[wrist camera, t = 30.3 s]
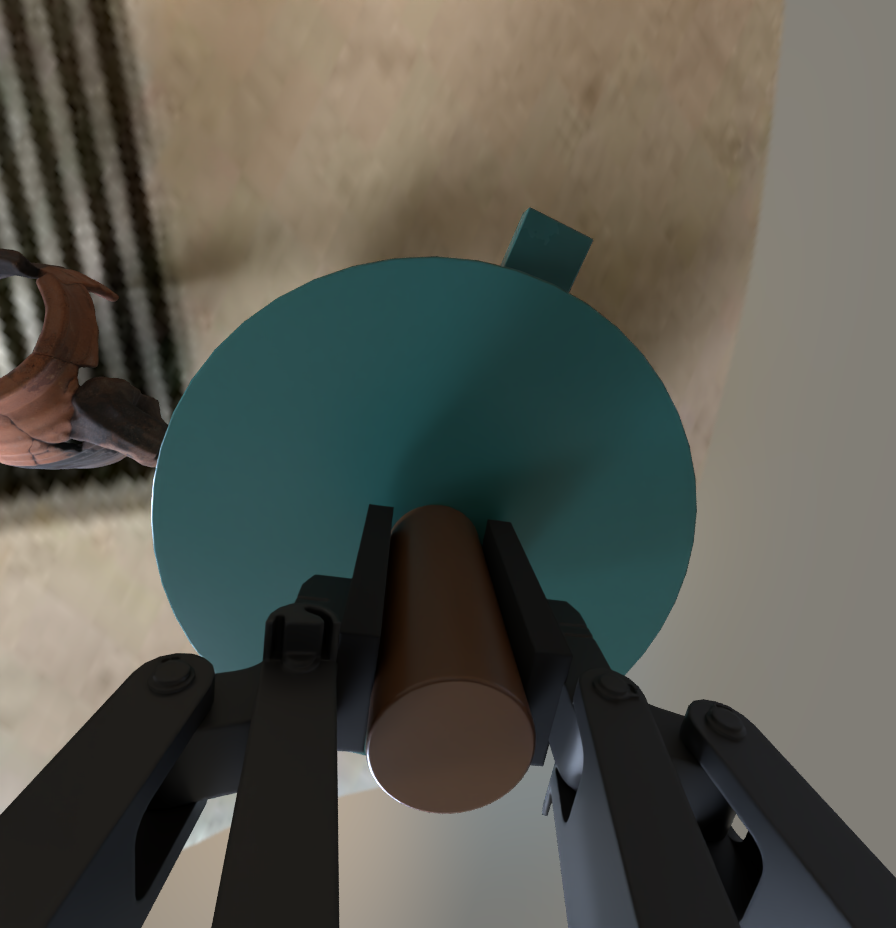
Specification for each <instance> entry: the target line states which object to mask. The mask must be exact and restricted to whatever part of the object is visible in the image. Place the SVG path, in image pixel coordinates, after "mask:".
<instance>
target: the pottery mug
mask: <svg viewBox="0 0 896 928" xmlns="http://www.w3.org/2000/svg"><path fill="white" fill-rule="evenodd" d="M13 275H17V276H23V277H27V278H34V279H37V281H36V284H37V286H38V288H39V290H40V293H41V295H42V298H43V301H44V304H45V309H46V310H45V319H44V325H43V329H42V331H41V334H40V336H39V338H38V341H37V343H36V346H35V348H34V350H33V353H32V354H31V355H29V356H28V357H27V358H26V359H25V360H24V361H23V362H22V363H21V364H20V365H19V366H18V367H16V368H15V369H13V370H12V371H11V372H10V373H8V374H7V375H5V376H3V377H2V378H0V463H3V464H8V465H11V466H17V467H22V468H28V469H32V468H37V469H52V470H53V469H71V468H96V467H101V466H106V465H110V464H113V463H115V462H118V461H120V460H122V459H123V458H125V457H126V456H128V457H130V458H132V459H134V460H136V461H137V462H139V463H140V464H142V465H145V466H149V467H156V466H157V461H158V456H159V451H160V447H161V444H162V441H163V439H164V436H165V433H166V431H167V428H168V425H167V424H166V423H165V422H164V420H163V419H162V418H161V414H160V406H159V402H158V400H155V398H152V397H149V396H146V395H143V394H141V391H140V390H139V389H137V388H136V387H133V386H132V385H131V384H130V383H129V382H127V381H126V380H123V379H119V378H108V377H94V378H92V379H90V380H87V381H86V382H85V383H84V384H83V385H82V386H80V385H79V382H78V378H77V377H78V370H79V368H80V367H84V368H85V367H89V368H95V367H97V366H98V361H99V357H98V334H99V330H98V326H97V322H96V317H95V309H94V304H93V301H92V298H91V296H90V294H89V292H92V293H94V294H96V295H98V296H100V297H103V298H105V299H107V300H109V301H114V302H115V301H117V300H118V298H119V296H118V295H117V294H116V293H114V292H113V291H111V290H110V289H109V288H107V287H105V286H104V285H102V284H101V283H99V282H97V281H95V280H93V279H91V278H89V277H88V276H86V275H84V274H81V273H79V272H76V271H74V270H70V269H65V268H64V267H61V266H54V265H47V264H40V263H31V262H29V260H28V259H26V258H25V257H24V256H23V255H22V254H21V253H20V252H18V251H14V250H7V249H0V279H2V278H5V277H9V276H13ZM69 439H75V440H77V441H83V442H82V444H79V445H77V444H73V443H66V441H68V440H69Z"/></svg>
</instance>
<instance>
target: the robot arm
mask: <svg viewBox="0 0 896 928" xmlns="http://www.w3.org/2000/svg"><path fill="white" fill-rule="evenodd" d="M393 509H394V507H389V506H382V505H374V504H369V507H368V512H367V516H366V520H365V525H364V529H363V533H362V538H361V542H360V546H359V551H358V555H357V559H356V564H355V568H354V572H353V577H352V578H343V577H334V576H325V575H316V574H315V575H314V576H312V577H311V578H310V579H308V580H307V581H306V582H304V583H303V584H302V586H301V589H300V591H299V593H298V596H297V599H296V601H295V603H292V604H289V605H286V606H282V607H279V608H278V609H276V610H275V611H274V612H272V613H271V614H270V615H269V617H268V619H267V620H266V622H265V636H264V649H263V661H262V662H260V663H259V664H257V665H254V666H252V667H249V668H246V669H241V670H237V671H230V672H223V673H215V671H214V668H213V664H211V663H210V662H209V661H208V660H207V659H206V658H204V657H201V656H198V655H195V654H185V653H175V654H170V655H165V656H160V657H158V658H156V659H153V660H151V661H149V662H146V663H144V664H143V665H142V666H141V667H139V668H138V669H137V670H135V671H134V672H133V673H132V674H131V675H130V676H129V677H128V678H127V679H126V680H125V681H124V683H123V684H122V685H121V686H120V687H119V688H118V689H117V690H116V691H115V692H114V693H113V694H112V695H111V697H110V698H109V699H108V700H107V701H106V702H105V703H104V704H103V705H102V706H101V707H100V708H99V709H98V711H97V712H96V713H95V714H94V715H93V716H92V717H91V718H90V719H89V720H88V721H87V722H86V723H85V724H84V726H83V727H82V728H81V729H80V730H79V731H78V732H77V733H76V734H75V735H74V736H73V737H72V738H71V740H70V741H69V742H68V743H67V744H66V745H65V746H64V747H63V748H62V749H61V750H60V751H59V752H58V753H57V755H56V756H55V757H54V758H53V759H52V760H51V761H50V762H49V763H48V764H47V765H46V766H45V767H44V769H43V770H42V771H41V772H40V773H39V774H38V775H37V776H36V777H35V778H34V779H33V780H32V781H31V783H30V784H29V785H28V786H27V787H26V788H25V789H24V790H23V791H22V792H21V793H20V794H19V795H18V796H17V798H16V799H15V800H14V801H13V802H12V803H11V804H10V805H9V806H8V807H7V808H6V809H5V810H4V812H3V813H2V814H1V815H0V928H141V927H142V925H143V923H144V921H145V920H146V918H147V916H148V914H149V912H150V910H151V908H152V906H153V904H154V902H155V900H156V899H157V897H158V895H159V893H160V891H161V889H162V887H163V885H164V883H165V881H166V880H167V877H168V876H169V873H170V872H171V870H172V868H173V866H174V864H175V862H176V860H177V859H178V857H179V855H180V853H181V851H182V849H183V847H184V845H185V843H186V841H187V840H188V838H189V836H190V834H191V832H192V830H193V828H194V826H195V824H196V822H197V820H198V819H199V817H200V815H201V813H202V811H203V809H204V807H205V805H206V803H207V799H211V798H215V797H220V796H224V795H229V794H233V793H237V797H236V802H235V807H234V813H233V818H232V823H231V828H230V833H229V839H228V844H227V849H226V854H225V859H224V865H223V870H222V875H221V881H220V886H219V891H218V896H217V902H216V907H215V912H214V917H213V923H212V927H211V928H339V864H338V779H337V751H348V752H361V753H364V746H365V739H366V733H367V726H368V717H369V708H370V698H371V693H372V689H373V685H374V678H375V672H376V665H377V658H378V651H379V645H380V638H381V628H382V619H383V609H384V599H385V589H386V579H387V569H388V559H389V549H390V539H391V529H392V519H393ZM482 549H483V553H484V556H485V559H486V563H487V566H488V570H489V573H490V576H491V580H492V583H493V586H494V590H495V593H496V597H497V600H498V603H499V607H500V610H501V613H502V617H503V620H504V624H505V627H506V630H507V634H508V637H509V640H510V644H511V647H512V651H513V654H514V657H515V661H516V664H517V667H518V671H519V674H520V678H521V681H522V684H523V688H524V691H525V694H526V698H527V701H528V705H529V708H530V711H531V715H532V718H533V721H534V725H535V730H536V746H535V752H534V756H533V759H532V762H531V764H530V765H535V766H543V765H544V761H545V758H546V754H547V750H548V746H549V744H550V747H551V750H552V754H553V757H554V760H555V764H554V768H553V771H552V775H551V778H550V782H549V786H548V789H547V793H546V796H545V800H544V803H543V810H542V815H545V816H547V815H548V812H549V809H550V805H551V803H552V804H553V811H554V819H555V827H556V834H557V843H558V851H559V858H560V866H561V874H562V882H563V890H564V898H565V906H566V913H567V921H568V928H896V878H895V877H894V876H893V874H892V873H891V872H890V871H889V870H888V869H887V868H886V867H885V866H884V865H883V864H882V862H881V861H880V860H879V859H878V858H877V857H876V856H875V855H874V854H873V853H872V852H871V851H870V850H869V848H868V847H867V846H866V845H865V844H864V843H863V842H862V841H861V840H860V839H859V838H858V837H857V835H856V834H855V833H854V832H853V831H852V830H851V829H850V828H849V827H848V826H847V825H846V824H845V822H844V821H843V820H842V819H841V818H840V817H839V816H838V815H837V814H836V813H835V812H834V811H833V809H832V808H831V807H830V806H829V805H828V804H827V803H826V802H825V801H824V800H823V799H822V798H821V797H820V795H819V794H818V793H817V792H816V791H815V790H814V789H813V788H812V787H811V786H810V785H809V784H808V783H807V781H806V780H805V779H804V778H803V777H802V776H801V775H800V774H799V773H798V772H797V771H796V769H795V768H794V767H793V766H792V765H791V764H790V763H789V762H788V761H787V760H786V759H785V758H784V757H783V756H782V754H781V753H780V752H779V751H778V750H777V749H776V748H775V747H774V746H773V745H772V744H771V742H770V741H769V740H768V739H767V738H766V737H765V736H764V735H763V734H762V733H761V732H760V731H759V729H758V728H757V727H756V726H755V725H754V724H753V723H751V722H750V721H749V720H748V719H747V718H746V717H744V716H743V715H742V714H740V713H739V712H737V711H735V710H734V709H732V708H731V707H729V706H727V705H723V704H722V703H718V702H716V701H709V700H704V699H703V700H696V701H693V702H692V703H691V704H690V705H689V706H688V709H687V711H686V714H685V716H683V715H680V714H676V713H673V712H670V711H667V710H664V709H661V708H658V707H655V706H653V705H650V704H648V703H647V700H646V698H645V696H644V694H643V693H642V691H641V690H640V688H639V687H638V686H637V685H636V684H635V683H634V682H633V681H631V680H630V679H629V678H627V677H626V676H624V675H622V674H620V673H618V672H616V671H613V670H611V668H610V666H609V664H608V662H607V661H606V659H605V657H604V655H603V653H602V652H601V650H600V648H599V646H598V644H597V643H596V641H595V639H593V635H592V634H591V632H590V630H589V628H587V625H586V623H585V621H584V619H583V617H582V616H581V614H580V613H579V612H578V611H577V610H576V609H575V608H574V607H573V606H571V605H570V604H569V603H568V602H567V601H560V600H552V599H547V598H546V596H545V594H544V592H543V590H542V588H541V586H540V583H539V581H538V579H537V577H536V575H535V573H534V571H533V568H532V566H531V564H530V562H529V560H528V558H527V556H526V553H525V551H524V549H523V547H522V545H521V543H520V541H519V538H518V536H517V534H516V532H515V530H514V528H513V526H512V523H511V522H506V521H498V520H490V519H488V520H487V525H486V530H485V535H484V540H483V545H482ZM736 814H737V815H738V817H739V818H740V820H741V821H742V822H743V824H744V825H745V826H746V828H747V829H748V833H747V835H746V837H745V839H744V840H742V839H741V838H740V837H739V836H738V835H737V833H736V832H735V831H734V829H733V828H732V826H731V824H732V822H733V819H734V817H735V815H736Z"/></svg>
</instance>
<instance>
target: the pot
mask: <svg viewBox="0 0 896 928" xmlns="http://www.w3.org/2000/svg"><path fill="white" fill-rule="evenodd" d="M592 242H593V239H592V238H590V237H588V236H586V235H584V234H582V233H580V232H578V231H576V230H574V229H572V228H570V227H568V226H566V225H564V224H562V223H560V222H559V221H557V220H555V219H553V218H551V217H549V216H547V215H545V214H543V213H541V212H539V211H537V210H535V209H533V208H531V207H529V208H528V209H527V210H526V211H525V212H524V213H523V214H522V217H521V219H520V221H519V224H518V226H517V228H516V230H515V233H514V235H513V237H512V240H511V242H510V244H509V247H508V249H507V251H506V254H505V256H504V258H503V261H502V263H501V265H500V266H504V267H508V268H512V269H516V270H519V271H521V272H524V273H526V274H529V275H531V276H534V277H536V278H539V279H542V280H544V281H547V282H549V283H552V284H554V285H556V286H557V287H559V288H561V289H563V290H564V291H566V292H568V293H569V291H570V289H571V287H572V285H573V283H574V281H575V278H576V276H577V274H578V272H579V270H580V268H581V266H582V263H583V261H584V259H585V257H586V255H587V253H588V251H589V248H590V246H591V244H592Z"/></svg>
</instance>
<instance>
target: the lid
mask: <svg viewBox="0 0 896 928" xmlns="http://www.w3.org/2000/svg"><path fill="white" fill-rule="evenodd" d="M369 504H374V505H382V506H389V507H394V509H393V519H392V529H391V539H390V549H389V559H388V569H387V579H386V589H385V599H384V609H383V619H382V628H381V638H380V645H379V651H378V658H377V665H376V672H375V678H374V685H373V689H372V693H371V698H370V708H369V717H368V726H367V733H366V739H365V746H364V753H361V752H353V753H358V754H362V755H366V759H367V762H368V766H369V769H370V771H371V773H372V775H373V777H374V779H375V780H376V782H377V783H378V785H379V786H380V787H381V788H382V789H383V790H384V791H385V792H386V793H387V794H388V795H389V796H391V797H392V798H393V799H395V800H396V801H398V802H400V803H401V804H404V805H406V806H408V807H410V808H413V809H416V810H419V811H424V812H429V813H439V814H451V813H461V812H466V811H471V810H474V809H477V808H481V807H483V806H485V805H488V804H491V803H492V802H494V801H496V800H498V799H500V798H501V797H503V796H504V795H505V794H507V793H508V792H509V791H511V790H512V789H513V788H514V787H515V786H516V785H517V784H518V783H519V781H520V780H521V779H522V778H523V776H524V775H525V773H526V772H527V770H528V768H529V766H530V764H531V762H532V759H533V756H534V752H535V746H536V730H535V725H534V721H533V718H532V715H531V711H530V708H529V705H528V701H527V698H526V694H525V691H524V688H523V684H522V681H521V678H520V674H519V671H518V667H517V664H516V661H515V657H514V654H513V651H512V647H511V644H510V640H509V637H508V634H507V630H506V627H505V624H504V620H503V617H502V613H501V610H500V607H499V603H498V600H497V597H496V593H495V590H494V586H493V583H492V580H491V576H490V573H489V570H488V566H487V563H486V559H485V556H484V553H483V549H482V545H483V540H484V535H485V530H486V525H487V520H488V519H490V520H498V521H506V522H511V523H512V526H513V528H514V530H515V532H516V534H517V536H518V538H519V541H520V543H521V545H522V547H523V549H524V551H525V553H526V556H527V558H528V560H529V562H530V564H531V566H532V568H533V571H534V573H535V575H536V577H537V579H538V581H539V583H540V586H541V588H542V590H543V592H544V594H545V596H546V598H547V599H552V600H560V601H567V602H568V603H569V604H570V605H571V606H573V607H574V608H575V609H576V610H577V611H578V612H579V613H580V614H581V616H582V617H583V619H584V621H585V623H586V625H587V628H589V630H590V632H591V634H592V635H593V639H595V641H596V643H597V644H598V646H599V648H600V650H601V652H602V653H603V655H604V657H605V659H606V661H607V662H608V664H609V666H610V668H611V670H613V671H616V672H618V673H620V674H622V675H624V676H625V674H626V673H627V672H628V671H629V670H630V669H631V668H632V667H633V665H634V664H635V663H636V662H637V661H638V660H639V658H641V656H642V655H643V654H644V653H645V651H646V650H647V648H648V647H649V646H650V644H651V643H652V641H653V640H654V638H655V637H656V636H657V634H658V633H659V631H660V630H661V628H662V626H663V624H664V622H665V621H666V619H667V617H668V615H669V613H670V611H671V609H672V607H673V605H674V604H675V601H676V599H677V596H678V593H679V591H680V588H681V586H682V583H683V580H684V578H685V575H686V572H687V568H688V564H689V559H690V556H691V551H692V547H693V542H694V533H695V523H696V513H697V506H696V480H695V473H694V468H693V462H692V457H691V451H690V446H689V443H688V440H687V437H686V434H685V431H684V428H683V425H682V422H681V419H680V416H679V413H678V411H677V409H676V407H675V405H674V403H673V402H672V400H671V398H670V396H669V394H668V392H667V390H666V388H665V386H664V384H663V382H662V381H661V379H660V378H659V376H658V375H657V374H656V372H655V371H654V369H653V368H652V366H651V365H650V364H649V362H648V361H647V359H646V358H645V357H644V355H643V354H642V353H641V352H640V351H639V349H638V348H637V347H636V346H635V345H634V344H633V343H632V342H631V341H630V340H629V339H628V338H627V337H626V336H625V335H624V334H623V333H622V332H621V331H620V329H619V328H618V327H617V326H615V325H614V324H613V323H611V322H610V321H609V320H608V319H606V318H605V317H604V316H602V315H601V314H600V313H599V312H597V311H596V310H595V309H594V308H592V307H591V306H590V305H588V304H587V303H585V302H584V301H582V300H580V299H578V298H577V297H575V296H573V295H571V294H570V293H568V292H566V291H564V290H563V289H561V288H559V287H557V286H556V285H554V284H552V283H549V282H547V281H544V280H542V279H539V278H536V277H534V276H531V275H529V274H526V273H524V272H521V271H519V270H516V269H512V268H508V267H504V266H499V265H495V264H491V263H487V262H483V261H479V260H470V259H460V258H449V257H439V256H430V257H409V258H393V259H387V260H382V261H377V262H372V263H366V264H361V265H356V266H352V267H349V268H346V269H343V270H340V271H337V272H334V273H331V274H328V275H325V276H322V277H320V278H317V279H314V280H312V281H310V282H308V283H306V284H304V285H302V286H300V287H298V288H296V289H294V290H292V291H290V292H288V293H286V294H284V295H282V296H280V297H279V298H277V299H275V300H274V301H272V302H271V303H270V304H268V305H267V306H265V307H264V308H263V309H261V310H260V311H258V312H257V313H256V314H254V315H253V316H251V317H250V318H249V319H247V320H246V321H244V322H243V323H242V324H241V325H240V326H239V327H238V328H237V329H236V330H235V331H234V332H233V333H232V334H231V335H230V336H229V337H228V338H226V339H225V340H224V341H223V342H222V343H221V344H220V345H219V346H218V347H217V348H216V349H215V350H214V352H213V353H212V354H211V355H210V357H209V358H208V359H207V361H206V362H205V363H204V364H203V366H202V367H201V368H200V370H199V371H198V372H197V373H196V375H195V376H194V377H193V379H192V380H191V382H190V384H189V385H188V387H187V389H186V391H185V393H184V394H183V396H182V398H181V400H180V401H179V403H178V405H177V407H176V409H175V410H174V412H173V415H172V417H171V420H170V423H169V425H168V428H167V431H166V433H165V436H164V439H163V441H162V444H161V447H160V451H159V456H158V461H157V466H156V470H155V475H154V480H153V491H152V508H151V523H152V534H153V545H154V553H155V557H156V561H157V565H158V570H159V574H160V578H161V582H162V585H163V588H164V590H165V593H166V595H167V598H168V600H169V603H170V605H171V608H172V610H173V613H174V615H175V617H176V619H177V620H178V622H179V624H180V626H181V627H182V629H183V631H184V633H185V634H186V636H187V638H188V640H189V641H190V643H191V644H192V646H193V647H194V648H195V650H196V651H197V652H198V654H199V655H200V656H201V657H204V658H206V659H207V660H208V661H209V662H210V663H211V664H213V668H214V671H215V673H223V672H230V671H237V670H241V669H246V668H249V667H252V666H254V665H257V664H259V663H260V662H262V661H263V649H264V636H265V622H266V620H267V619H268V617H269V615H270V614H271V613H272V612H274V611H275V610H276V609H278V608H279V607H282V606H286V605H289V604H292V603H295V601H296V599H297V596H298V593H299V591H300V589H301V586H302V584H303V583H304V582H306V581H307V580H308V579H310V578H311V577H312V576H314V575H315V574H316V575H325V576H334V577H343V578H352V577H353V572H354V568H355V564H356V559H357V555H358V551H359V546H360V542H361V538H362V533H363V529H364V525H365V520H366V516H367V512H368V507H369Z"/></svg>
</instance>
